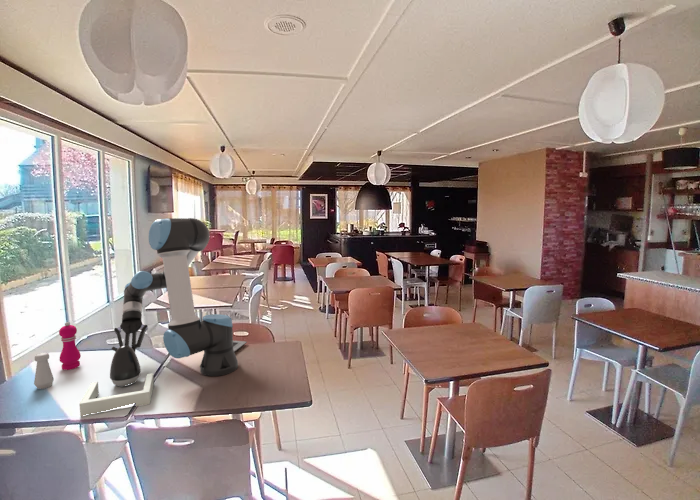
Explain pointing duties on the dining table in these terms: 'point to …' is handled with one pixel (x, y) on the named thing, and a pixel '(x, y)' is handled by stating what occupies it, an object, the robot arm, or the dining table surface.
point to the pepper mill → (69, 347)
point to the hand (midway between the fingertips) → (129, 363)
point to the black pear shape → (124, 366)
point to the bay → (115, 398)
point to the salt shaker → (43, 372)
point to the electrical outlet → (238, 344)
